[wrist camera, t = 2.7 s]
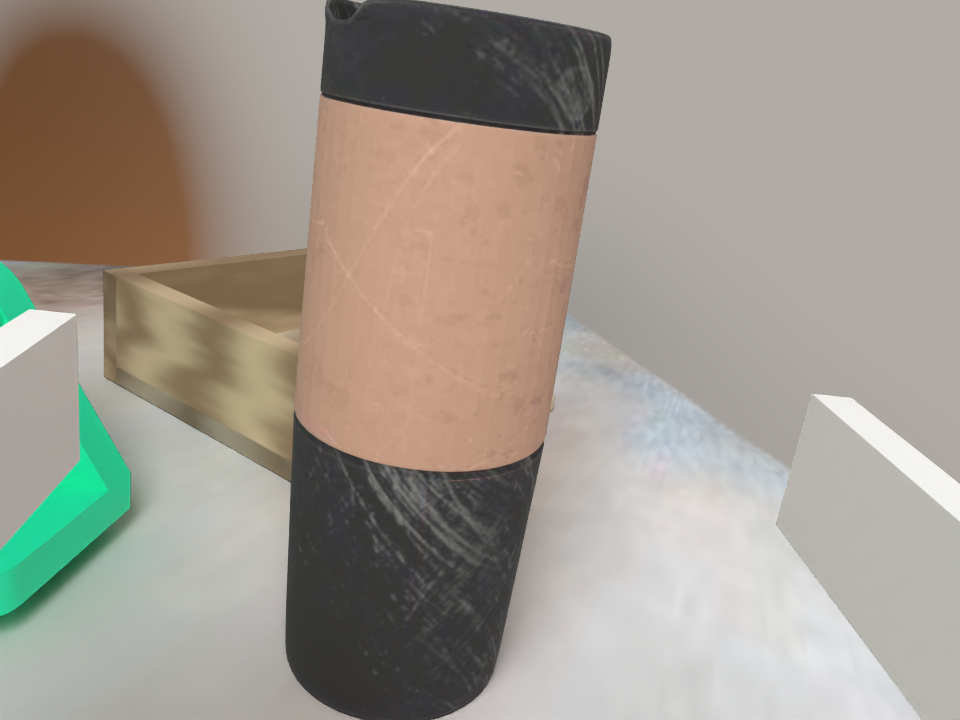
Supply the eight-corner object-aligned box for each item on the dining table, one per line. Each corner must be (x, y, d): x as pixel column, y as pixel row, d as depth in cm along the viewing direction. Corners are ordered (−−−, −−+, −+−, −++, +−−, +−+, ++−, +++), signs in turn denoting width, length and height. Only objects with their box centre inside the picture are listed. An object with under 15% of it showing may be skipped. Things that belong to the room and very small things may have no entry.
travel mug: (524, 614, 31) (631, 45, 25) (468, 764, 24) (596, 24, 18) (335, 560, 33) (388, 12, 26) (230, 686, 26) (268, -21, 19)
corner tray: (104, 376, 46) (103, 270, 44) (341, 326, 60) (349, 243, 58) (334, 506, 37) (346, 378, 35) (552, 410, 51) (569, 315, 49)
